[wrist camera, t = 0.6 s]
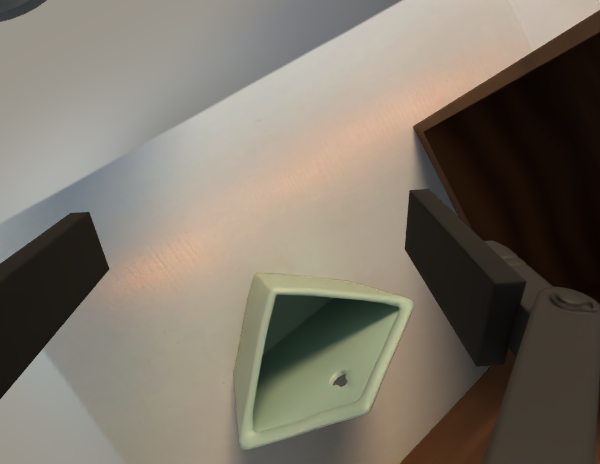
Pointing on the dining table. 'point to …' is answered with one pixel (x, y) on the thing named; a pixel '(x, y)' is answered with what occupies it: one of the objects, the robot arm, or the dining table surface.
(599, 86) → the cupboard
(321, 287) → the planter
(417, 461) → the cupboard door
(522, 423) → the robot arm
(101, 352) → the dining table surface
